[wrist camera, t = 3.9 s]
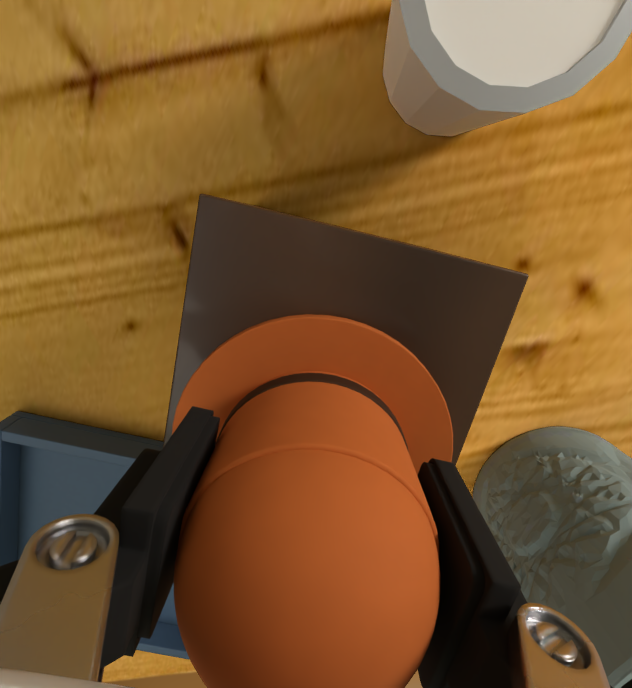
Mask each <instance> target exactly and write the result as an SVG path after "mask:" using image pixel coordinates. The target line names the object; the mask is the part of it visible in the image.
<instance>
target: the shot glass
mask: <svg viewBox="0 0 632 688" xmlns="http://www.w3.org/2000/svg"><path fill="white" fill-rule="evenodd" d="M631 32H632V0H392V3H391V10H390V17H389V24H388V31H387V37H386V44H385V55H384V66H383V78H384V82H385V85H386V89H387V93H388V97H389V101H390V103H391V104H392V106H393V107H394V108H395V110H396V111H397V112H398V114H399V115H400V116H401V118H402V119H403V120H404V122H405V123H406V124H408V125H410V126H412V127H414V128H416V129H417V130H419V131H421V132H423V133H425V134H427V135H437V136H455V135H458V134H461V133H464V132H467V131H471V130H474V129H477V128H480V127H483V126H486V125H490V124H493V123H496V122H499V121H502V120H505V119H508V118H512V117H515V116H518V115H521V114H524V113H527V112H530V111H533V110H535V109H538V108H541V107H543V106H546V105H549V104H551V103H554V102H557V101H559V100H562V99H565V98H567V97H570V96H573V95H574V94H575V93H576V92H578V91H579V90H580V89H581V88H582V87H583V86H584V85H586V84H587V83H588V82H589V81H590V80H591V79H593V78H594V77H595V76H596V75H597V74H598V73H599V72H601V71H602V70H603V69H604V68H605V67H606V66H607V65H609V64H610V63H611V62H612V61H613V60H614V59H615V58H616V57H617V55H618V53H619V52H620V50H621V48H622V47H623V45H624V43H625V42H626V40H627V38H628V37H629V35H630V33H631Z"/></svg>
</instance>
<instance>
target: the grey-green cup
mask: <svg viewBox="0 0 632 688" xmlns="http://www.w3.org/2000/svg"><path fill="white" fill-rule="evenodd" d="M473 500H474V501H475V503H476V505H477V507H478V509H479V511H480V512H481V514H482V516H483V518H484V520H485V522H486V523H487V525H488V527H489V529H490V531H491V533H492V534H493V536H494V538H495V540H496V542H497V544H498V545H499V547H500V549H501V551H502V553H503V555H504V556H505V558H506V560H507V562H508V564H509V566H510V567H511V569H512V571H513V573H514V575H515V577H516V578H517V580H518V582H519V584H520V586H521V592H522V593H523V595H524V597H525V599H526V601H527V603H539V604H542V605H545V606H548V607H551V608H552V609H554V610H556V611H558V612H560V613H562V614H563V615H564V616H566V617H567V618H568V619H570V620H571V621H572V622H574V623H575V624H576V625H577V626H578V627H579V628H580V629H581V630H582V631H583V632H584V633H585V634H586V636H587V637H588V638H589V639H590V641H591V642H592V643H593V645H594V647H595V649H596V651H597V653H598V655H599V657H600V659H601V662H602V665H603V668H604V671H605V674H606V676H607V679H608V682H609V685H611V686H612V687H613V688H632V458H630V457H629V456H627V455H626V454H624V453H623V452H621V451H620V450H619V449H617V448H616V447H615V446H613V445H612V444H611V443H609V442H608V441H606V440H604V439H603V438H601V437H599V436H597V435H595V434H593V433H590V432H588V431H584V430H581V429H577V428H570V427H562V426H560V427H546V428H541V429H537V430H533V431H529V432H527V433H524V434H522V435H520V436H517V437H516V438H514V439H512V440H510V441H508V442H507V443H505V444H504V445H503V446H502V447H500V448H499V449H498V450H497V451H495V452H494V453H493V454H492V455H491V456H490V458H489V459H488V460H487V461H486V463H485V464H484V465H483V467H482V469H481V471H480V472H479V474H478V477H477V480H476V482H475V485H474V491H473Z"/></svg>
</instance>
